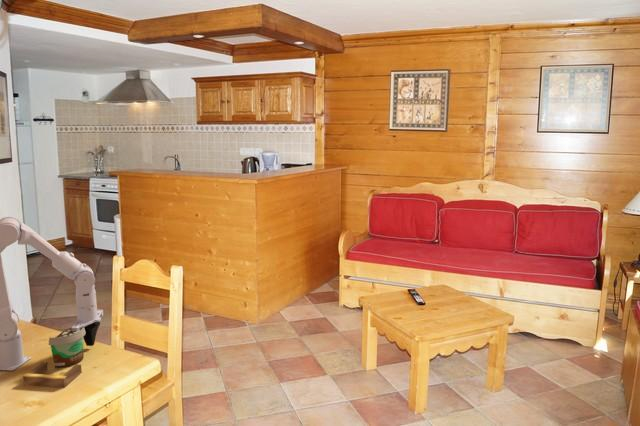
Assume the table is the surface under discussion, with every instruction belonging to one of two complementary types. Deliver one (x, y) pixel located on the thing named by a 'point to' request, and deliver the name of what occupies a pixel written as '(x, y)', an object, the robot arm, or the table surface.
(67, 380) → the dock bay
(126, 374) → the table surface
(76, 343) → the food container
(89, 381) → the table surface
